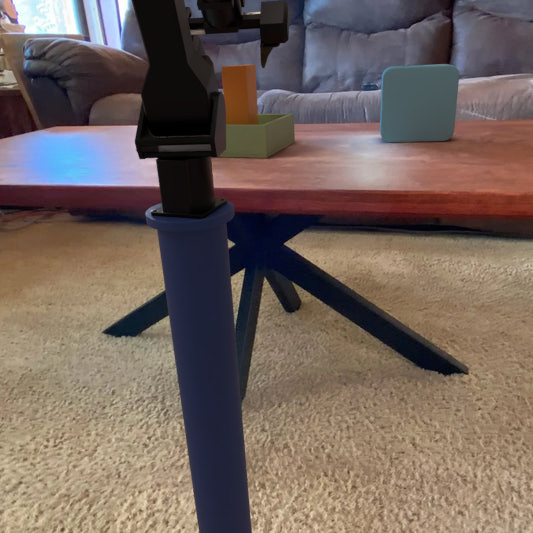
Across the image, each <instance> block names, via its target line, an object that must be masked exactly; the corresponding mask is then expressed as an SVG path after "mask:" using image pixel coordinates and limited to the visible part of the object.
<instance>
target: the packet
mask: <svg viewBox="0 0 533 533" xmlns="http://www.w3.org/2000/svg"><path fill="white" fill-rule="evenodd" d="M256 72H257V70H256V64H255V63H252V64H251V63H250V64H231V65H225V66H221V80H222V93H223V95H224V99H225V107H226V125H258V114H259V109H258V108H259V107H258V91H257V90H258V88H257V87H258V86H257V73H256Z"/></svg>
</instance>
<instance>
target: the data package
mask: <svg viewBox="0 0 533 533" xmlns="http://www.w3.org/2000/svg"><path fill="white" fill-rule="evenodd" d="M459 82H460V71H459V69H458V68H457V67H456V66H455V65H454V64H448V63H439V64H418V65H396V66H395V65H394V66H388V67H387V68H385V69H384V70H383V72H382V74H381V82H380V106H379V107H380V109H379V110H380V111H379V133H380V136H381V139H382V140H383V141H384V142H386V143H419V142H420V143H421V142H422V143H423V142H424V143H425V142H426V143H427V142H446V141H449V140H450V139H451V138H452V137H453V135H454V134H455V128H456V127H455V126H456V115H457V105H458V104H457V103H458V95H459Z"/></svg>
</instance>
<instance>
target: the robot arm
mask: <svg viewBox="0 0 533 533" xmlns="http://www.w3.org/2000/svg"><path fill="white" fill-rule="evenodd" d="M131 4H132V7H133V11H134V15H135V18H136V23H137V25H138V30H139V33H140V36H141V40H142V44H143V47H144V51H145V54H146V58H147V63H148V68H147V70H146V74H145V77H144V80H143V83H142V88H141V90H140V98H141V104H140V110H139V115H138V121H137V126H136V127H137V128H136V130H135V131H136V132H135V136H134V137H135V138H134V145H135V148H136V149H135V151H136V153H137V156H138V159H139V160H146V159H155V162H156V171H157V179H158V186H159V194H160V203H162V205H161V206H159V207H157V208H155V209H154V210H152V211H151V216H162V217H176V218H190V219H204V218H206V217H207V216H209V215H210V214H212V213H213V212H215V211H216V210H218V209H219V208H221V207H222V206H224V205H225V204H227V201H228V199H227V198H220V199H219V197H215V185H214V172H213V163H212V158H220V157H219V156H220V155H221V154H222V153H223V152H224V151H225V150H226V107H225V99H224V95H223V91H219V87H218V82H217V79H216V73H215V65H214V61H213V60H212V58H211V57H210V56H209V55H208V54H206V50H205V49H204V46H203V44H202V41H201V38H200V36H203V35H219V34H236V33H239V31H240V30H258V29H259V37H260V41H259V52H260V66H261V69H265V68H266V65H267V61H268V58H269V56H270V54H271V52H272V51H273V49H275V48H278V47H280V45H281V44H285V43H287V42H288V41H289V39H290V22H291V19H290V18H291V12H290V4H289V3H288V1H286V0H265V1H261V3H260V11H249V12H244V11H243V8H245V6H246V5H245V4H246V0H196V7H197V11H200V13H201V16H202V17H192V16H193V12H192V9H191V6H186V2H185V0H131Z"/></svg>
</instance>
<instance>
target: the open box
mask: <svg viewBox="0 0 533 533" xmlns="http://www.w3.org/2000/svg"><path fill="white" fill-rule="evenodd" d="M295 135H296V134H295V113H258V125H226V150H225V151H224V152H223V153H222V154H221V155H220V156H219V157H218V158H247V159H248V158H249V159H250V158H251V159H255V158H256V159H267V158H269V157H272V156H273V155H275V154H277V153H279V152H280V151H282V150H283V149H285V148H287V147H289V146H290V145H292V144H295V142H296V140H295V139H296V136H295Z"/></svg>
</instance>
